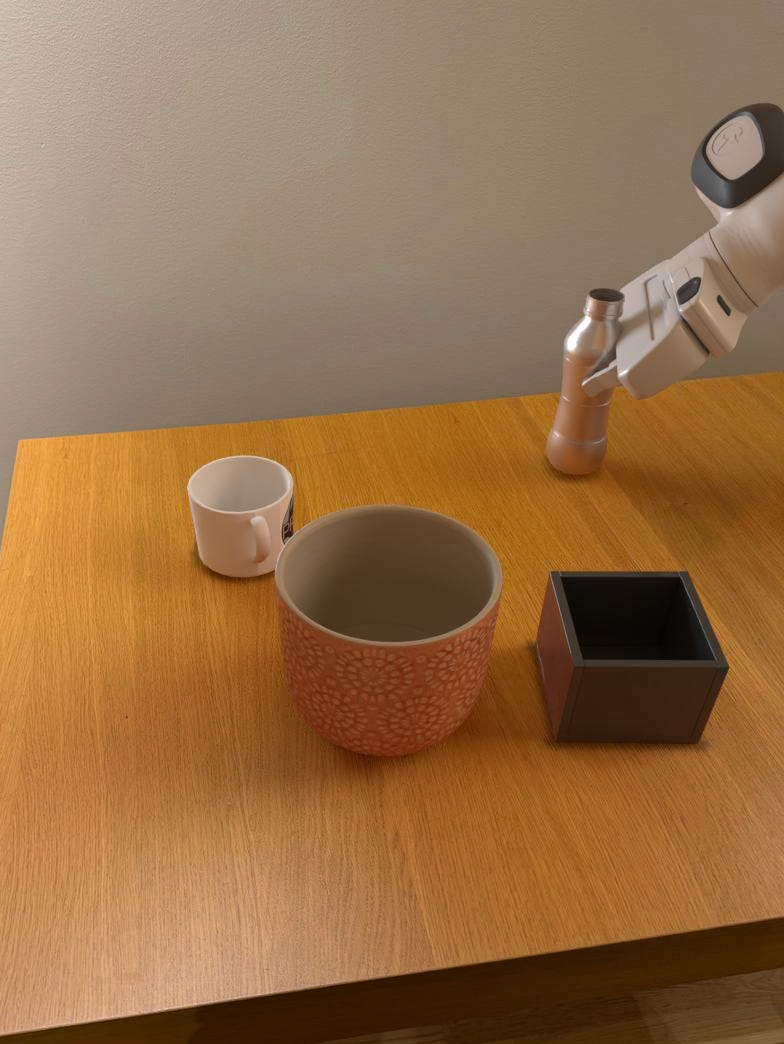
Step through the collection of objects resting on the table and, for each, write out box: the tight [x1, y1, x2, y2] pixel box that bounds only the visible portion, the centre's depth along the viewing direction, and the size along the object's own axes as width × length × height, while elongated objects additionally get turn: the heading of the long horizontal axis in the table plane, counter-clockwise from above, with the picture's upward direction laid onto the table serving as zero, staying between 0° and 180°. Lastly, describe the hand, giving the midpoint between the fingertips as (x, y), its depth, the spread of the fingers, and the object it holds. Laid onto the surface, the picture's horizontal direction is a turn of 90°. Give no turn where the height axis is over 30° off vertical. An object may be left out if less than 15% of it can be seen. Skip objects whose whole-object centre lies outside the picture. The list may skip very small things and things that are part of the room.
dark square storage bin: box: [534, 570, 731, 744], centre depth 77 cm, size 12×12×9 cm
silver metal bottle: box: [546, 287, 625, 476], centre depth 99 cm, size 6×7×20 cm
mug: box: [186, 455, 295, 579], centre depth 92 cm, size 13×10×8 cm
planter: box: [274, 504, 504, 757], centre depth 74 cm, size 17×17×15 cm
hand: (584, 374), depth 98 cm, fingers closed on silver metal bottle, 6 cm apart
